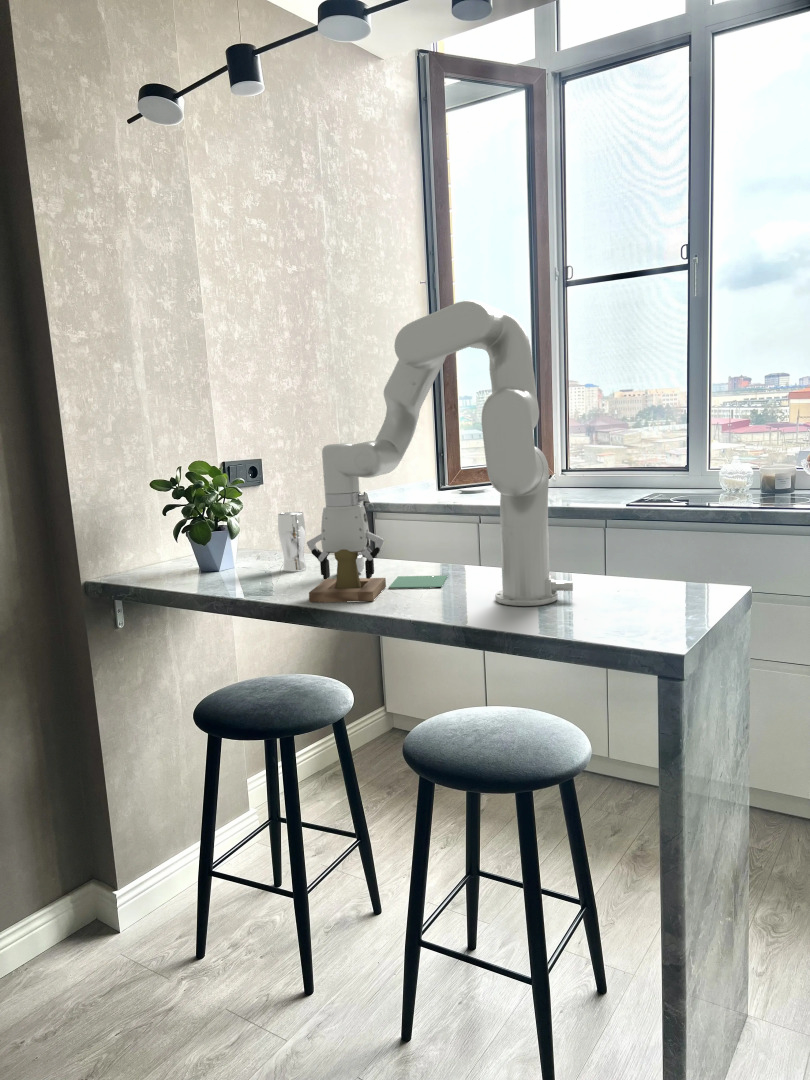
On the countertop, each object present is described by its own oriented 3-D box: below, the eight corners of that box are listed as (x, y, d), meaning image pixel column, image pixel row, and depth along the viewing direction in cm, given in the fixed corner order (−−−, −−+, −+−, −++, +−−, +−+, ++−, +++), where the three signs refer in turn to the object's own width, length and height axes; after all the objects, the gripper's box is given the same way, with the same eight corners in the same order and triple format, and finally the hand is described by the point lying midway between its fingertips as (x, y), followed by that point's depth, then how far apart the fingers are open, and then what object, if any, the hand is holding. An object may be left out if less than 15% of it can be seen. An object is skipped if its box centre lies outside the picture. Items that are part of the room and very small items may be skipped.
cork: (364, 591, 177) (361, 543, 175) (360, 597, 171) (357, 547, 169) (338, 592, 178) (334, 544, 176) (333, 598, 172) (329, 548, 170)
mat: (447, 577, 187) (447, 575, 187) (441, 588, 176) (441, 586, 176) (398, 577, 189) (397, 576, 189) (388, 589, 178) (388, 587, 178)
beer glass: (279, 573, 204) (274, 515, 202) (284, 567, 211) (279, 512, 209) (305, 571, 204) (301, 514, 201) (310, 566, 211) (306, 511, 208)
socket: (386, 587, 180) (385, 577, 180) (373, 601, 166) (372, 591, 166) (326, 588, 182) (326, 578, 182) (309, 602, 169) (308, 592, 168)
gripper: (385, 497, 173) (389, 573, 176) (309, 500, 176) (314, 575, 179) (378, 501, 166) (382, 580, 169) (299, 504, 169) (305, 582, 172)
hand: (347, 577), depth 174 cm, fingers open, 9 cm apart
